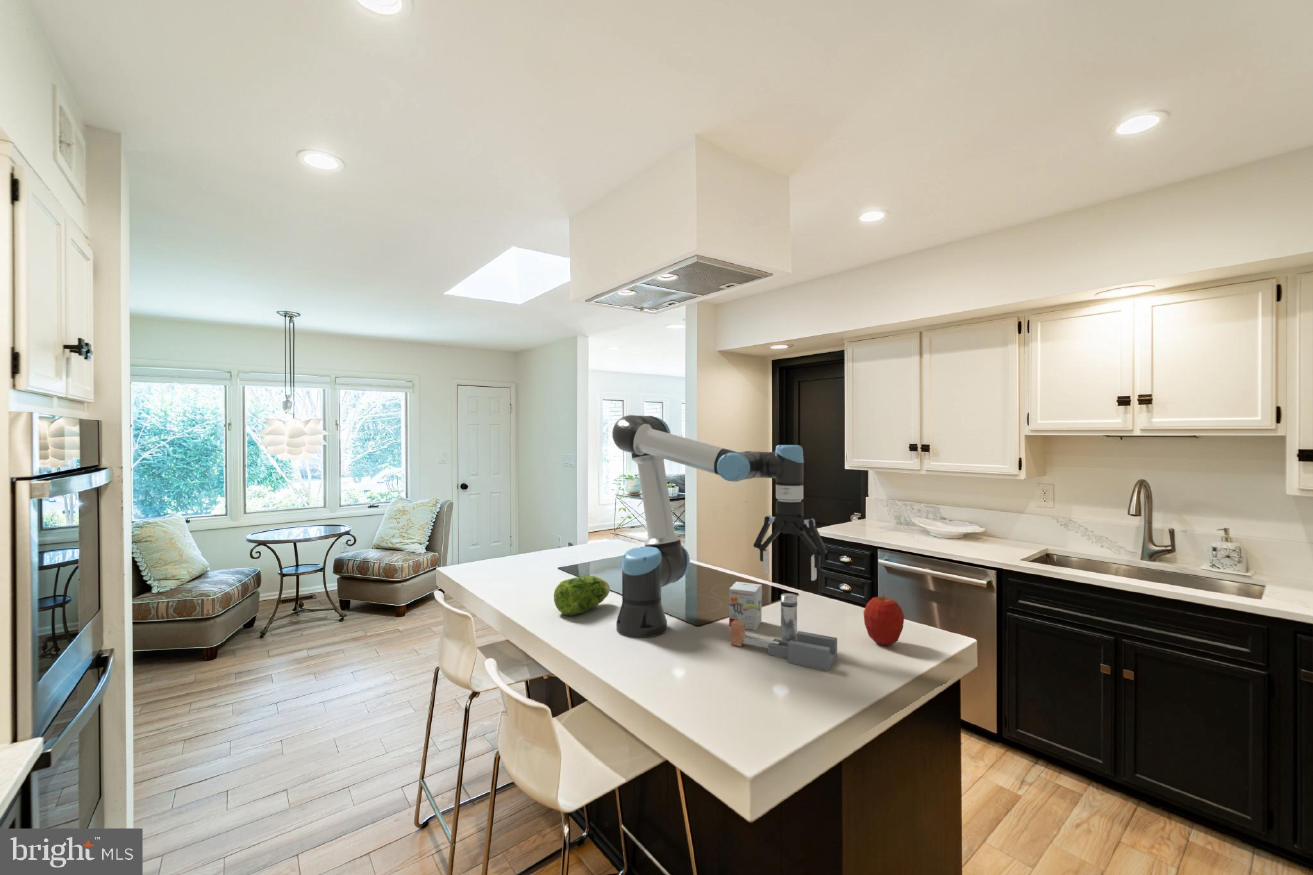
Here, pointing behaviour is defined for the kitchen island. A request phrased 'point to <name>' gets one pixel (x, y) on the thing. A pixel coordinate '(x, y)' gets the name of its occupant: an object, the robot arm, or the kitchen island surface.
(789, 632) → the grey cylinder
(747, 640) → the pin
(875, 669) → the kitchen island surface
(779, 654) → the mount
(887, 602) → the apple
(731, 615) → the ink box
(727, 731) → the kitchen island surface
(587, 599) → the green rounded piece
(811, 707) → the kitchen island surface
